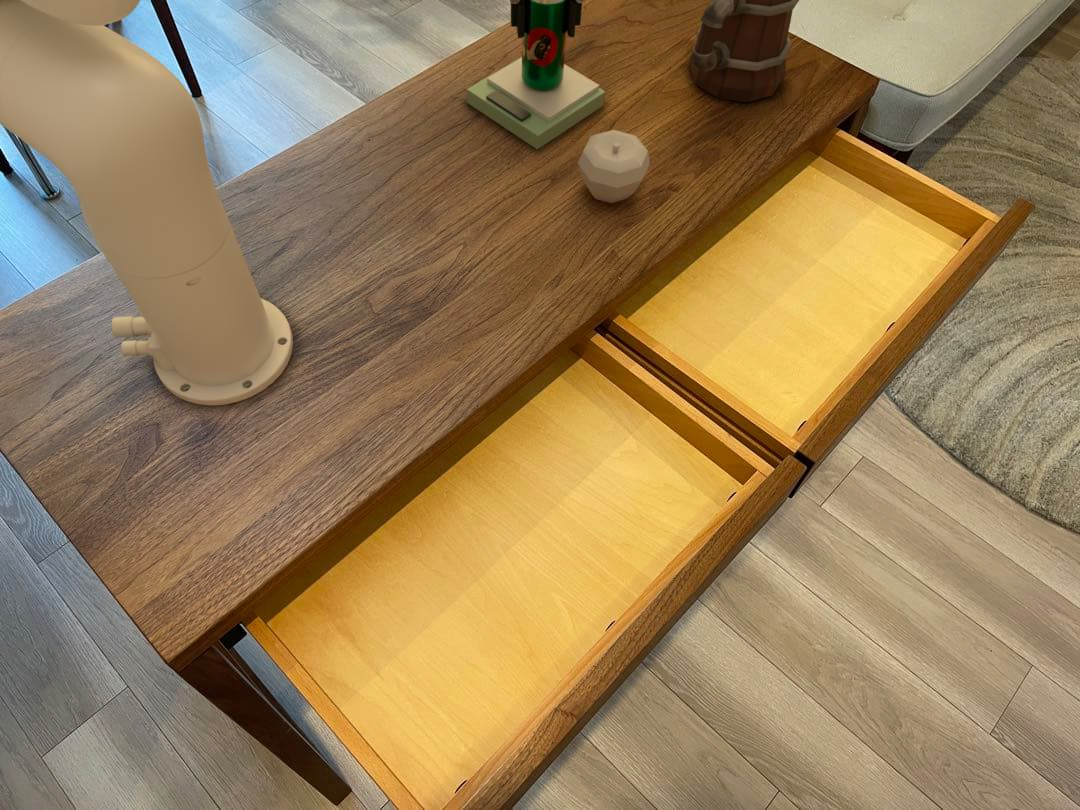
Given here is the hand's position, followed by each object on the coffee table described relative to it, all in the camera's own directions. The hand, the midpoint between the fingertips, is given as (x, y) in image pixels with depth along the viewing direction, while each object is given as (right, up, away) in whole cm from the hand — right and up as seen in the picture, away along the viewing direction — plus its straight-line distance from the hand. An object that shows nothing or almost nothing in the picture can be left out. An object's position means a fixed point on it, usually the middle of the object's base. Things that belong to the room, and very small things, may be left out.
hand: (545, 29), depth 89 cm
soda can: (0, -4, +6) cm, 7 cm away
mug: (+23, -1, +12) cm, 26 cm away
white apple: (+7, -19, 0) cm, 20 cm away
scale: (-1, -6, +7) cm, 9 cm away
